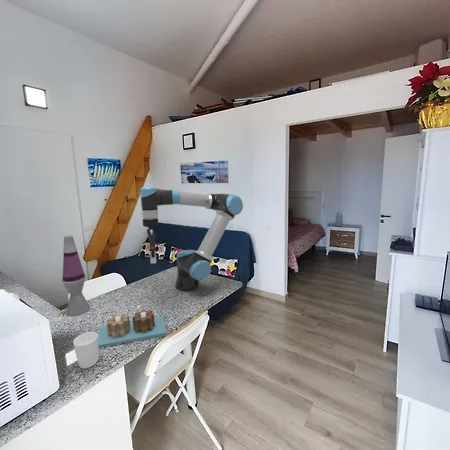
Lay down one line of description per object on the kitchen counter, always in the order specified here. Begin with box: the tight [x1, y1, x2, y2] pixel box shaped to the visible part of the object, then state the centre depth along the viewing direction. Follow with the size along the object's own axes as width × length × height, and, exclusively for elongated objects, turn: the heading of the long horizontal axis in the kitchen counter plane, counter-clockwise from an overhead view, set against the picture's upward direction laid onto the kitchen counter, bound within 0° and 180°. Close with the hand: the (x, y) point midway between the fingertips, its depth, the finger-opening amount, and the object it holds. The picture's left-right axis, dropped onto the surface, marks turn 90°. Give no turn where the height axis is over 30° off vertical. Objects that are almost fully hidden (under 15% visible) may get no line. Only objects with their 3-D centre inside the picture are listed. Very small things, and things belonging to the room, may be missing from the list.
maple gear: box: [106, 313, 130, 338], centre depth 109 cm, size 9×9×6 cm
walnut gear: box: [132, 309, 155, 333], centre depth 112 cm, size 9×9×6 cm
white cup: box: [73, 331, 100, 370], centre depth 93 cm, size 8×8×10 cm
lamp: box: [61, 234, 91, 317], centre depth 126 cm, size 11×11×40 cm
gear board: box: [97, 311, 167, 349], centre depth 110 cm, size 28×14×8 cm, turn 108°
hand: (153, 258), depth 128 cm, fingers open, 13 cm apart
